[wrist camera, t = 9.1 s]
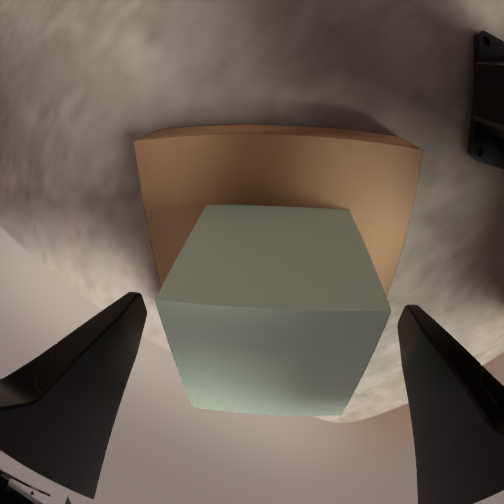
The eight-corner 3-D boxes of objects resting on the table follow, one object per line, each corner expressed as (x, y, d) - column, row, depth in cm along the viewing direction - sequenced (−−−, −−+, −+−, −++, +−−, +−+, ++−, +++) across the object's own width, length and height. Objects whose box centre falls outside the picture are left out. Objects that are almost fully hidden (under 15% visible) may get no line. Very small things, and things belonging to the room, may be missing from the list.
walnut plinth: (397, 136, 10) (423, 150, 8) (359, 314, 16) (367, 347, 13) (160, 129, 11) (133, 141, 9) (187, 306, 16) (175, 338, 14)
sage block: (349, 209, 10) (391, 310, 5) (329, 313, 12) (341, 414, 8) (207, 204, 10) (154, 299, 6) (217, 308, 13) (192, 406, 9)
